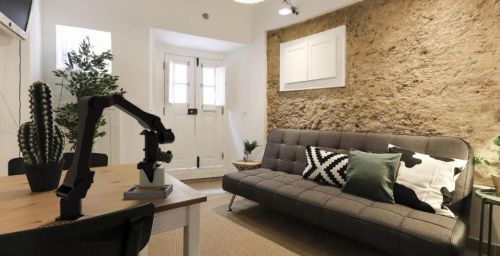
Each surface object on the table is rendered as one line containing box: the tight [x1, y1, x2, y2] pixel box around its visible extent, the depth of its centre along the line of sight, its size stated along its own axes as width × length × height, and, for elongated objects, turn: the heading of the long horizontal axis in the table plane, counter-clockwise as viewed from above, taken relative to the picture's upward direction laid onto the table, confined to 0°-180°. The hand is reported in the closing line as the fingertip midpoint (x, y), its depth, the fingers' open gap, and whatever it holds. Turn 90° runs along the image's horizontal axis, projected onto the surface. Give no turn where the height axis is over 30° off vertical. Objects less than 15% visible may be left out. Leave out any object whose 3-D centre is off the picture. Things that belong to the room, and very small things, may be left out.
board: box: [138, 167, 166, 187], centre depth 112 cm, size 2×10×10 cm, turn 94°
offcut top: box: [133, 188, 160, 192], centre depth 107 cm, size 5×9×1 cm, turn 94°
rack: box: [123, 183, 174, 200], centre depth 109 cm, size 12×16×3 cm
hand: (152, 182), depth 112 cm, fingers closed on board, 2 cm apart
